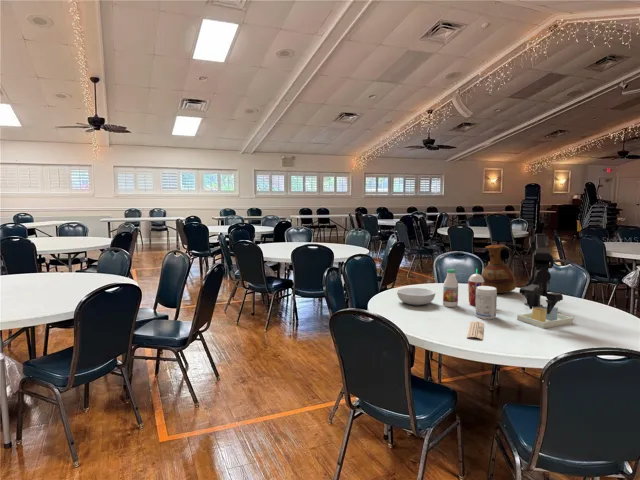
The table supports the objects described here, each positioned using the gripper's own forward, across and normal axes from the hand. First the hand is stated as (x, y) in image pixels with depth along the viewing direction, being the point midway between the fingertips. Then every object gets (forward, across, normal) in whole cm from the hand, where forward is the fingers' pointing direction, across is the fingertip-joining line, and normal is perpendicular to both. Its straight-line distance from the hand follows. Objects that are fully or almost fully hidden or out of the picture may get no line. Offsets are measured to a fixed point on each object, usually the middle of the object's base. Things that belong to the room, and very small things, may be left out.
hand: (539, 311), depth 192 cm
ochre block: (+5, 0, 0) cm, 5 cm away
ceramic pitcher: (+6, -55, +33) cm, 64 cm away
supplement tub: (+6, -17, -16) cm, 24 cm away
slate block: (+5, 0, +8) cm, 9 cm away
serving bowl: (+6, -53, -31) cm, 62 cm away
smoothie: (+6, -37, -3) cm, 38 cm away
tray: (+5, 0, +4) cm, 7 cm away
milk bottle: (+6, -41, -17) cm, 45 cm away
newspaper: (+6, -2, -36) cm, 37 cm away
